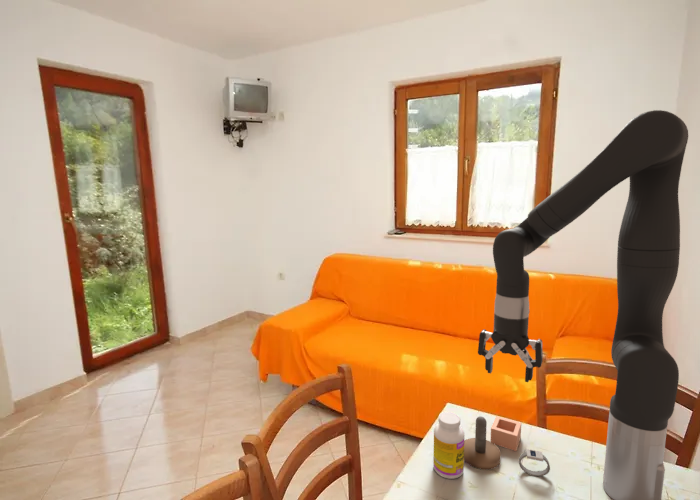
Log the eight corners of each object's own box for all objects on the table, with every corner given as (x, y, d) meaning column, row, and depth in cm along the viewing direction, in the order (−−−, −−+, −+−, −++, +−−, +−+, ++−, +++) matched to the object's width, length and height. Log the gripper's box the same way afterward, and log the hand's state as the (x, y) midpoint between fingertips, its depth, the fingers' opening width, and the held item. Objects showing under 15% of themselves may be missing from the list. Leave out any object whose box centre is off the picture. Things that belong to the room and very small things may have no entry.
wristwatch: (548, 472, 86) (549, 452, 85) (550, 481, 83) (551, 460, 82) (517, 466, 88) (518, 446, 87) (518, 475, 85) (519, 454, 84)
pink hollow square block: (520, 437, 98) (521, 422, 97) (516, 451, 93) (517, 436, 92) (495, 429, 101) (496, 415, 100) (490, 442, 96) (491, 428, 95)
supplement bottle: (458, 484, 83) (459, 430, 81) (429, 473, 87) (429, 421, 84) (467, 465, 89) (468, 414, 87) (439, 455, 92) (439, 405, 90)
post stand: (504, 451, 93) (505, 413, 91) (495, 475, 85) (497, 434, 84) (466, 439, 98) (467, 402, 96) (455, 460, 90) (456, 421, 89)
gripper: (476, 312, 92) (474, 375, 95) (542, 322, 84) (538, 391, 87) (484, 303, 98) (482, 363, 101) (546, 312, 91) (542, 376, 93)
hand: (508, 376), depth 94 cm, fingers open, 8 cm apart
